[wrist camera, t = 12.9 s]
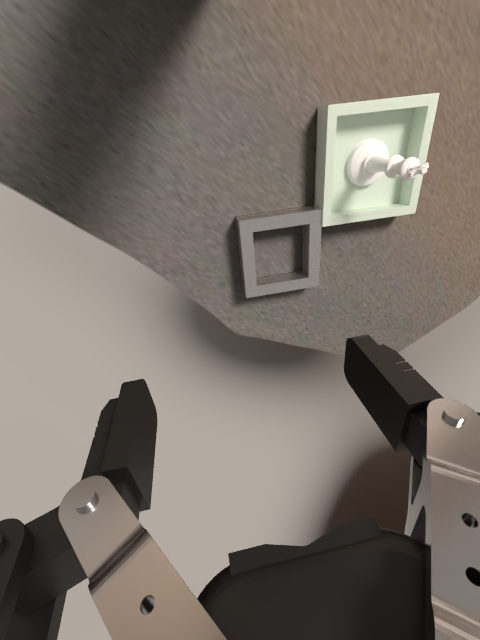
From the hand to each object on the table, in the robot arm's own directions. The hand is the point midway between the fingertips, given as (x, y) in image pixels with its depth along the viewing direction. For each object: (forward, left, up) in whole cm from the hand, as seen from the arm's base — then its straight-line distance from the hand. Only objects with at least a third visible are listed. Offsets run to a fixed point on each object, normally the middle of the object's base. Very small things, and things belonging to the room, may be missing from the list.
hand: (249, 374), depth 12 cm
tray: (-4, +20, -28) cm, 35 cm away
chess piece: (-4, +20, -28) cm, 35 cm away
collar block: (+5, +9, -28) cm, 30 cm away
